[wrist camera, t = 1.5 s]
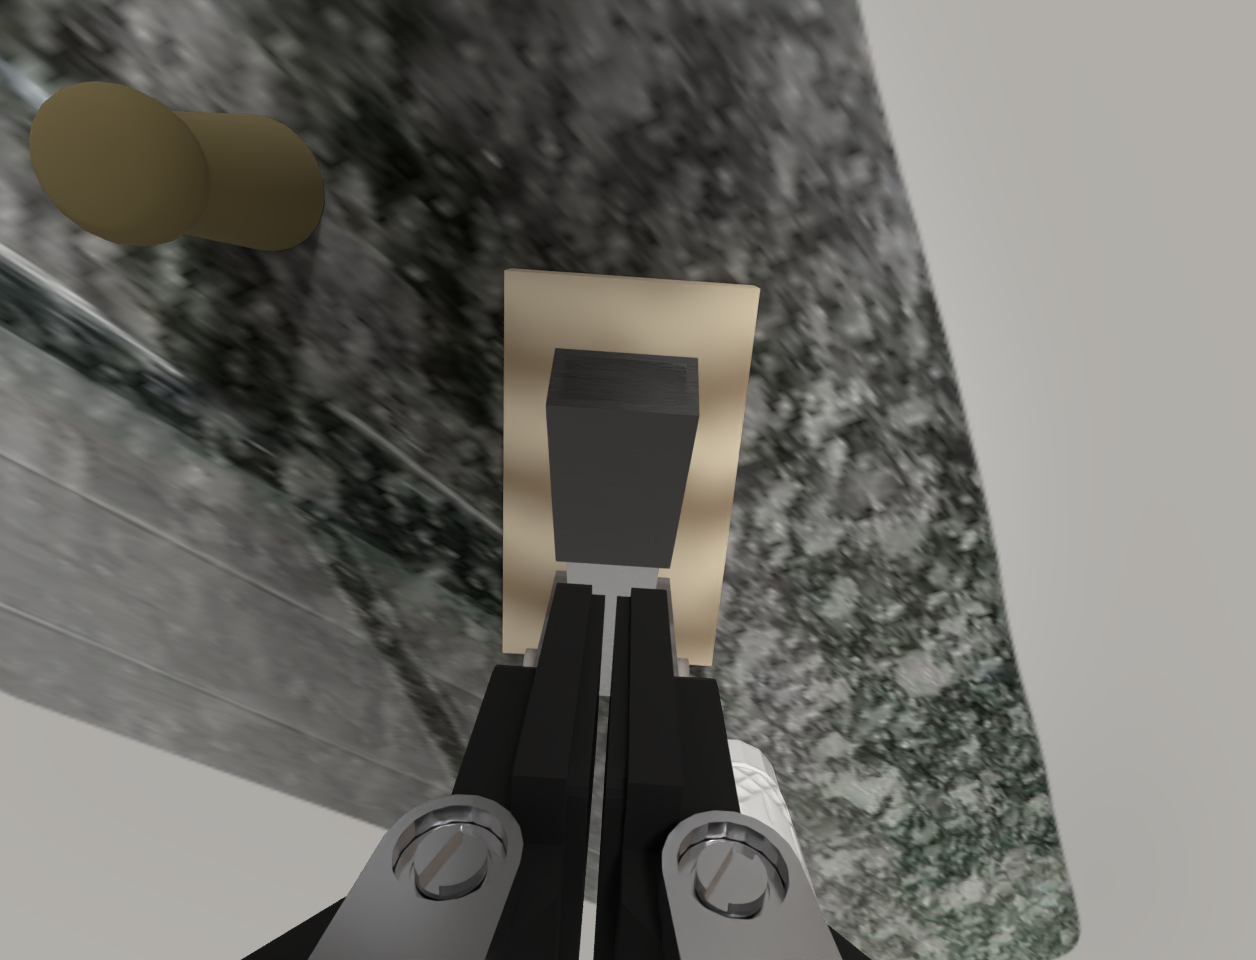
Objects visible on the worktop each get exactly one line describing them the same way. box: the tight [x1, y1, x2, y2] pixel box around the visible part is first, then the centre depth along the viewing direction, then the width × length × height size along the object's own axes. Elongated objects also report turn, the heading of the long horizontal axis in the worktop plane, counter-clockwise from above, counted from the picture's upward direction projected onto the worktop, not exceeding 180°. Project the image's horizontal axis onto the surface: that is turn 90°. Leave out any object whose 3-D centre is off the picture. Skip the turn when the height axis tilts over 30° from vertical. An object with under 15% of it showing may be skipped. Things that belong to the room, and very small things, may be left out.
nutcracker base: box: [503, 268, 760, 677], centre depth 32 cm, size 21×12×12 cm, turn 176°
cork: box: [29, 81, 325, 252], centre depth 27 cm, size 6×6×11 cm
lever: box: [546, 348, 700, 696], centre depth 25 cm, size 19×4×4 cm
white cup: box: [727, 739, 819, 904], centre depth 40 cm, size 8×8×10 cm
